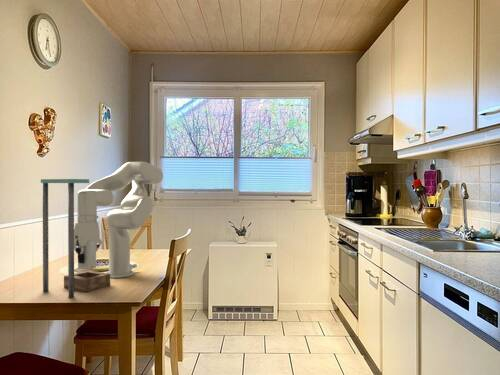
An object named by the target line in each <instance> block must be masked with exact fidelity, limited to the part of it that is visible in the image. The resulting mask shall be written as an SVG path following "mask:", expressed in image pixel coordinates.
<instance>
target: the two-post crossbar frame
mask: <svg viewBox="0 0 500 375" xmlns="http://www.w3.org/2000/svg"><path fill="white" fill-rule="evenodd" d="M40 183H41V184H42V293H48V292H49V287H50V286H49V284H50V283H49V184H67V199H68V200H67V201H68V202H67V203H68V205H67V212H68V213H67V214H68V215H67V220H68V221H67V222H68V224H67V228H68V229H67V230H68V231H67V232H68V233H67V236H68V237H67V238H68V239H67V242H68V243H67V244H68V247H67V248H68V249H67V251H68V252H67V254H68V265H67V266H68V267H67V269H68V270H67V271H68V273H67V275H68V289H67V290H68V292H67V293H68V294H67V295H68V297H67V298H69V299H74V298H75V290H74V274H75V250H74V228H75V184H90V179H88V178H87V179H86V178H57V179H56V178H51V179H49V178H47V179H45V178H43V179H40Z"/></svg>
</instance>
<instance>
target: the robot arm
mask: <svg viewBox="0 0 500 375" xmlns="http://www.w3.org/2000/svg"><path fill="white" fill-rule="evenodd" d="M163 173H164V172H163V171H162V168H159V167H158V166H156V165H154V164H151V163H149V162H146V161H128V162H127V161H126V162H125V163H124V164H123V165H121V166H120V167H119V168H118V169H117V170H115V171H114V172H113V173H112V174H110V175H108V176H105V177H103V178H101V179H99V180H96V181H93V182H92V183H91V184H89V185H88V186H87V187H86V188H85V189H81V190H79V191H77V220H76V221H77V222H75V223H74V252H76V254H77V264H78V263H82V264H83V263H84V254H83V251H84V247H85V246H87V242H88V241H92V240H96V252H98V250H99V248H100V246H101V245H102V244H103V240H102V239H101V237H100V226H99V222H98V219H99V215H98V212H97V210H98V209H97V208H98V207H108V206H111V205H112V203H114V200H115V195H114V194H113V193H114V192H119V191H122V190H124V189H125V188H126V187H127V186H128V185H129V184H130V183H131V190H130V191H129V192H128V194H127V195H126V196H125V197H124V199H123V200H122V201H121V203H120V208H115V209H111V210H110V211H109V212H108V213H107V214H106V217H105V218H106V225H107V229H108V271H107V272H106V273H108V274H110V279H120V278H122V279H123V278H128V277H131V276H133V275H134V271H133V269H136V268H138V265H137V263H134V264H132V263H131V261H130V260H131V248H130V247H131V237H130V234H129V232H128V230H133V231H134V230H139V229H140V228H142V227H143V225H145V222H146V220H148V218H149V217H150V216H151V214H152V212H153V209H154V200H153V199H152V198H151V196H149V195H148V192H147V189H146V187H145V185H158V184H160V183H161V182H163V178H164V174H163ZM80 249H81V250H80Z"/></svg>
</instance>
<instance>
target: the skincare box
mask: <svg viewBox="0 0 500 375" xmlns="http://www.w3.org/2000/svg"><path fill="white" fill-rule="evenodd" d="M80 250H81V249H80ZM83 254H84V263H83V264H82V263H78V262H77V270H87V271H88V270H90V271H91V270H93V269H96V268H97V251H96V240H92V241H88V242H87V246H85V247H84V251H83Z"/></svg>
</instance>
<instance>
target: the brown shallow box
mask: <svg viewBox="0 0 500 375" xmlns="http://www.w3.org/2000/svg"><path fill="white" fill-rule="evenodd" d="M106 287H111V278H110V274H108V273H107V272H100V271H95V270H91V269H90V270H88V269H87V270H84V271H80V272H76V273H75V272H74V291H77V292H78V291H79V292H81V293H90V292H92V291H96V290H100V289H104V288H106ZM63 288H64V289H67V290H68V274H67V275H66V274H65V275H63Z"/></svg>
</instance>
